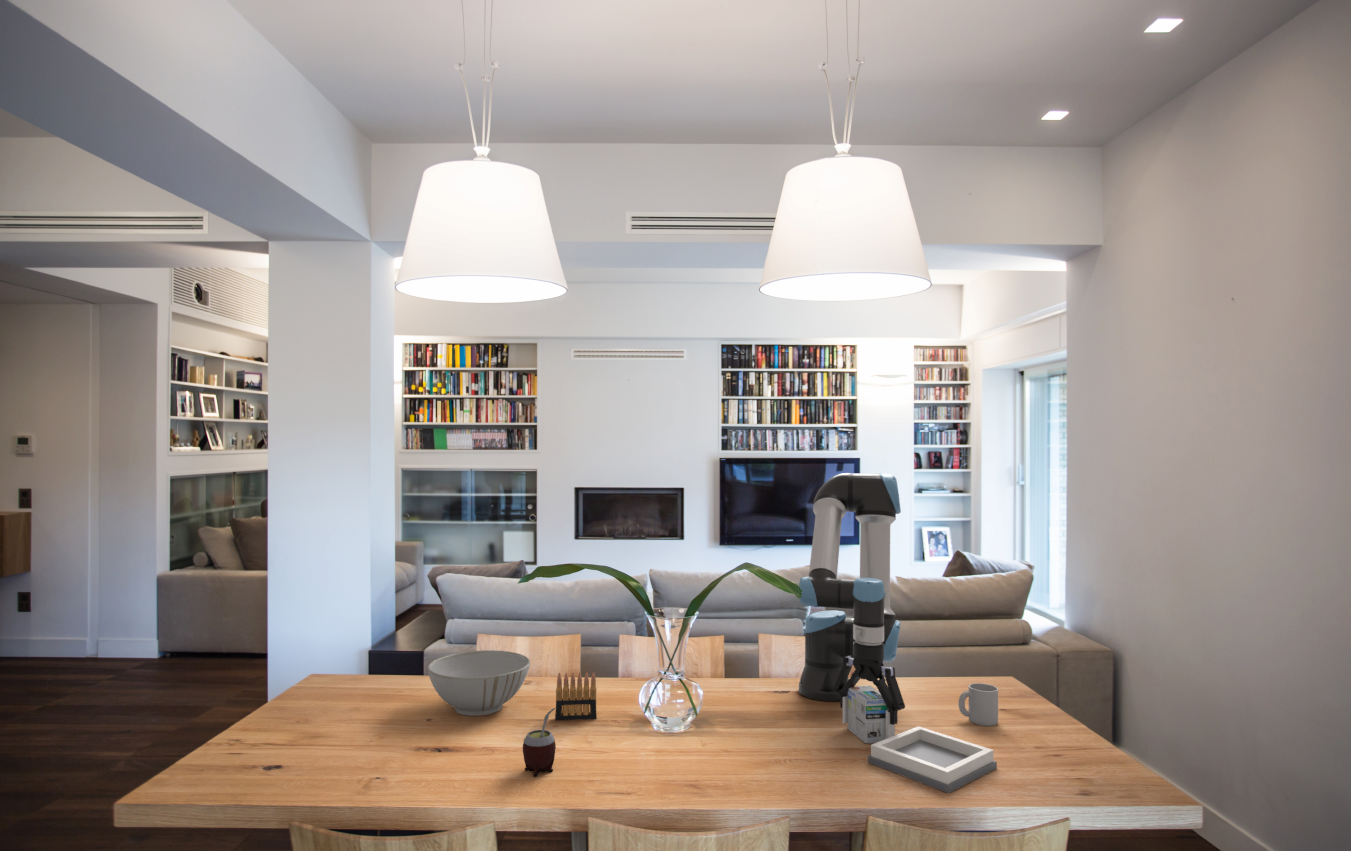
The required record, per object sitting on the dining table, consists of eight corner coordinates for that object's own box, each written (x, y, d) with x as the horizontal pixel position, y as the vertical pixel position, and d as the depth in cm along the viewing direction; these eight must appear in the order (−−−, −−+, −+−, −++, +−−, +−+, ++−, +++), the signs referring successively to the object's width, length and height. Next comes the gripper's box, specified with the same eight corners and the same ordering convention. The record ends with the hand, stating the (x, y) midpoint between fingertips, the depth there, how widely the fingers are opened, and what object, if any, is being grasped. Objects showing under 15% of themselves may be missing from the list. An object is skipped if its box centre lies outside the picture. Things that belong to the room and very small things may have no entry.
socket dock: (867, 762, 176) (867, 744, 176) (917, 741, 188) (917, 725, 189) (948, 793, 160) (948, 773, 160) (996, 768, 173) (996, 750, 173)
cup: (1002, 727, 199) (1002, 691, 200) (963, 726, 200) (963, 691, 200) (992, 717, 207) (992, 683, 207) (954, 716, 207) (954, 682, 207)
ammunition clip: (555, 720, 200) (555, 674, 201) (555, 718, 202) (555, 671, 202) (596, 719, 202) (597, 672, 202) (596, 716, 204) (597, 670, 204)
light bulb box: (891, 742, 188) (891, 697, 188) (865, 744, 186) (865, 699, 187) (870, 727, 198) (870, 684, 198) (846, 728, 197) (846, 685, 197)
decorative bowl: (517, 727, 196) (518, 678, 196) (411, 725, 196) (412, 676, 196) (538, 693, 222) (538, 650, 223) (445, 691, 223) (446, 649, 223)
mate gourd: (528, 763, 173) (529, 695, 174) (562, 765, 172) (563, 697, 173) (517, 777, 166) (518, 706, 166) (553, 779, 165) (554, 708, 165)
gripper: (820, 634, 200) (819, 719, 199) (902, 654, 181) (901, 747, 181) (838, 630, 205) (837, 713, 204) (920, 649, 186) (920, 740, 185)
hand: (868, 729), depth 192 cm, fingers closed on light bulb box, 12 cm apart
